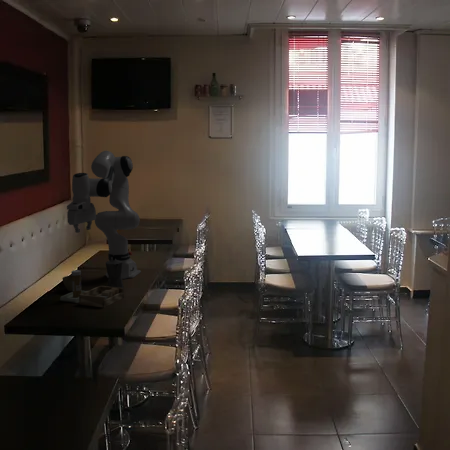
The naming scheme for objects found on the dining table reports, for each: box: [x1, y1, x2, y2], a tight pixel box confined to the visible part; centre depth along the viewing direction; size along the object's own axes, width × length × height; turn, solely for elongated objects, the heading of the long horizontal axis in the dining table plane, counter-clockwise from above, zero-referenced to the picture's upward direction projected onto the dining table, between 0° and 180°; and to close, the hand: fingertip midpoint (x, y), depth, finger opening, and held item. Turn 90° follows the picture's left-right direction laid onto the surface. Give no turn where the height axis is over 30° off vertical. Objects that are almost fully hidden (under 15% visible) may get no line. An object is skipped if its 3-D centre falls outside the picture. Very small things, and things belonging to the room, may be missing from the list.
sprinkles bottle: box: [70, 269, 82, 298], centre depth 283 cm, size 5×5×13 cm
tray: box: [59, 289, 88, 304], centre depth 284 cm, size 14×10×2 cm
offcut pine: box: [102, 290, 113, 298], centre depth 276 cm, size 4×4×6 cm
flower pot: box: [62, 274, 83, 292], centre depth 299 cm, size 10×10×7 cm
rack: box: [78, 285, 125, 309], centre depth 278 cm, size 18×14×5 cm
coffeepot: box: [105, 257, 125, 289], centre depth 300 cm, size 15×9×18 cm, turn 25°
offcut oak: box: [110, 288, 119, 296], centre depth 282 cm, size 5×4×5 cm
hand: (83, 231), depth 289 cm, fingers open, 8 cm apart
